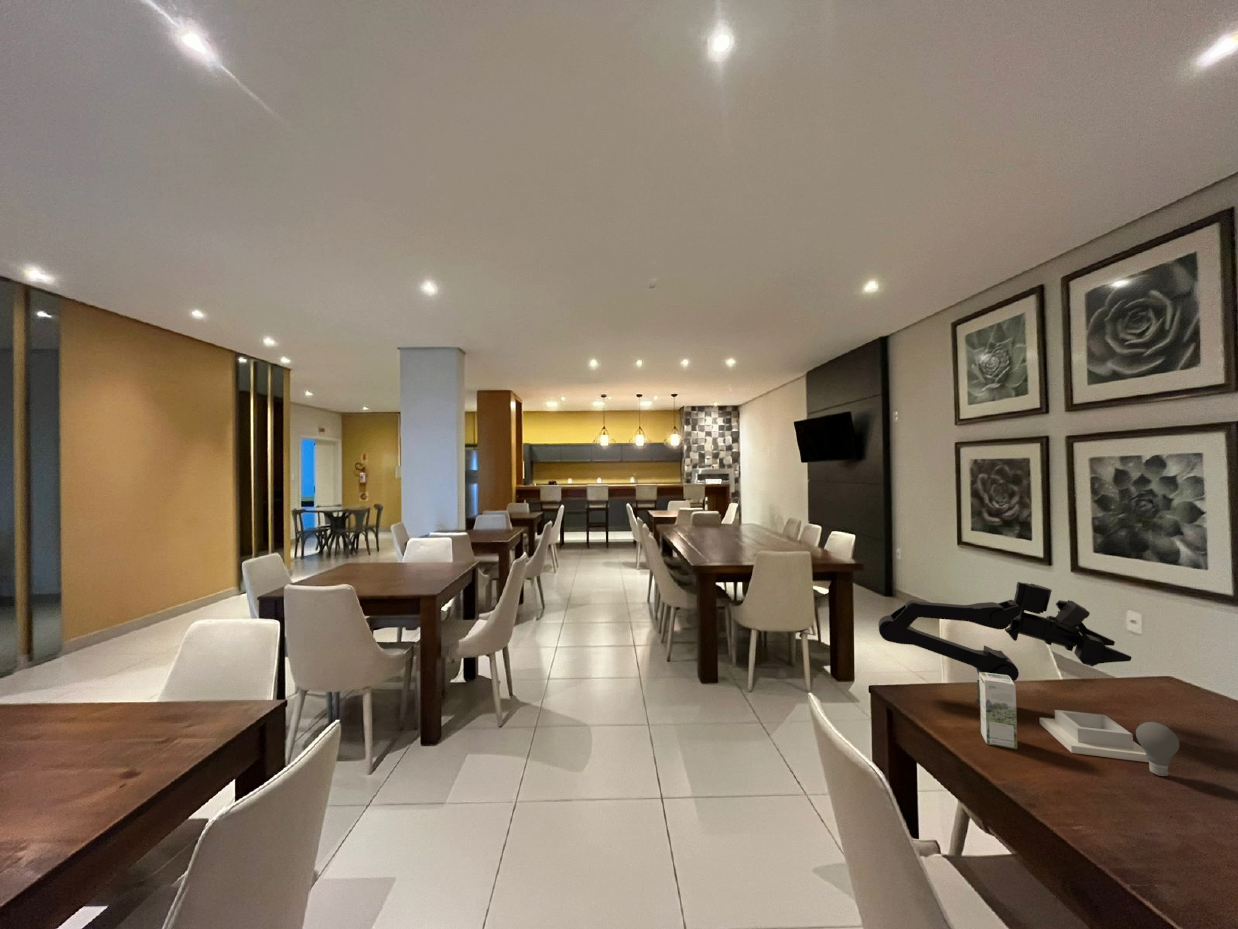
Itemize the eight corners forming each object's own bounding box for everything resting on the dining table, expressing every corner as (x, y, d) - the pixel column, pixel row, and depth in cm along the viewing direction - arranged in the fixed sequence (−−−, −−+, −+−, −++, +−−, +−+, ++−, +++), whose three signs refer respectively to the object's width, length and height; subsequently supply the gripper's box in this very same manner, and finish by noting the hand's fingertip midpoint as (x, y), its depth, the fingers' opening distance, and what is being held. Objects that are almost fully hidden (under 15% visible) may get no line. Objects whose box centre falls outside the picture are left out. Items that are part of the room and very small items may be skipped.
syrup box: (1010, 738, 116) (1008, 674, 116) (1018, 751, 110) (1015, 683, 111) (980, 733, 118) (978, 670, 119) (986, 745, 113) (984, 679, 113)
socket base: (1071, 752, 109) (1070, 731, 110) (1039, 723, 123) (1039, 704, 123) (1153, 763, 105) (1152, 741, 105) (1111, 731, 119) (1110, 712, 119)
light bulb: (1160, 767, 104) (1158, 717, 104) (1190, 784, 98) (1188, 731, 98) (1128, 765, 104) (1126, 716, 105) (1156, 782, 98) (1154, 730, 99)
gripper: (1062, 610, 118) (1151, 634, 112) (1040, 587, 135) (1116, 607, 128) (1049, 654, 120) (1136, 680, 113) (1028, 626, 137) (1103, 647, 130)
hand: (1122, 651), depth 121 cm, fingers open, 9 cm apart
